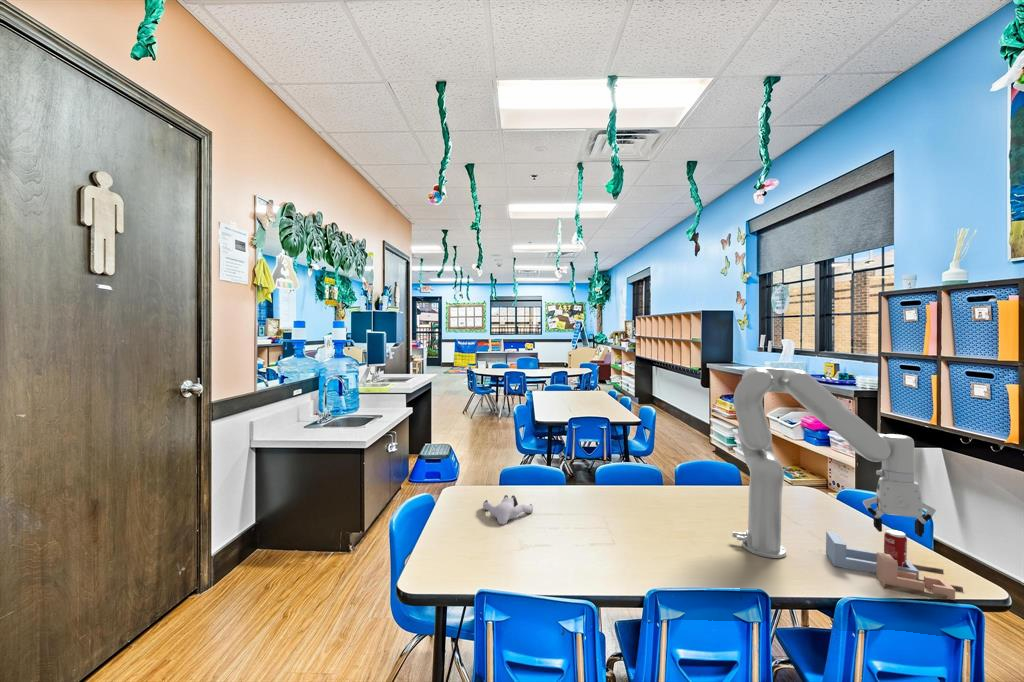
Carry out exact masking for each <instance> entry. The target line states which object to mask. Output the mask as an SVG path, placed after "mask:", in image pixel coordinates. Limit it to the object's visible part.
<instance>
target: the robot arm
mask: <svg viewBox="0 0 1024 682" xmlns="http://www.w3.org/2000/svg"><path fill="white" fill-rule="evenodd" d="M767 393H778V394H779V393H781V394H789V395H790V396H792V397H793V398H794V399H795V400H796V401H797V402H798V403H799V404H800V405H801V406H803V407H804V409H806V410H807V411H808V412H809V413H810V414H811V415H812V416H814V418H815V419H817V421H819V422H821V423H822V424H823V425H824V426H826V427H828V428H829V429H831V430H833V431H834V432H835V433H836V434H838V435H839V436H840V437H841V438H843V439H844V440H845V441H846V442H847V443H848V446H849V447H850V449H851V450H852V451H853V452H854V453H856V454H857V455H859V456H861V457H863V458H864V459H866V460H868V461H870V462H875V463H880V462H881V468H880V469H879V470H878V469H877V470H876V471H875V474H876V475H877V476H880V477H879V479H878V482H877V487H876V495H875V496H874V497H871V498H870V497H869V498H867V499H863V500H862V504H863V505H864V507H865V508H866V511H868V512H869V513H870V514H872V516H873V527H874V528H875V529H876V531H878V533H879V532H880V533H881V532H883V519H882V516H883V515H884V514H886V515H892V516H899V517H908V518H915V520H914V534H916V536H918V537H919V538H923V534H925V524H926V523H927V522H928V521H930V520H931V519H932V518H933V516H934V515H935V513H936V512H937V511H936V509H935V508H933V507H932V506H930V505H928V504H926V503H924V502H923V500H922V499H923V498H922V495H921V489H920V485H919V482H917V481H915V441H914V439H913V438H912V437H910V436H908V435H905V434H904V435H903V434H898V433H896V434H895V433H887V434H885V433H878V432H877V431H875V429H874V428H872V427H871V426H870V425H869V424H868V423H867V422H866V421H865V420H863V419H861V418H860V416H858V415H857V414H856V413H854V411H852V410H851V409H850V408H849V407H847V405H845V404H844V403H843V402H842V401H841V400H839V399H838V398H837V397H836V396H835V395H833V393H831V392H830V391H829V390H828V389H827V388H825V386H823V385H822V384H821V383H820V382H819V381H817V379H816V378H814V377H813V376H812V375H811V374H810V373H808V372H806V371H805V370H801V369H797V368H777V367H776V368H774V367H763V366H761V367H760V366H754V367H749V368H747V369H746V370H745V371H744V372H743V373H742V375H741V380H740V381H739V382H738V384H737V386H736V388H735V390H734V393H733V406H734V410H735V415H736V420H737V423H738V426H737V436H738V439H739V443H740V446H741V450H742V454H743V456H744V457H743V458H744V460H745V464H746V466H747V468H748V470H749V483H748V484H749V486H748V515H747V516H748V517H747V529H746V530H745V531H743V532H738V531H735V530H732V535H731V536H732V538H736V540H737V541H742V543H741V544H742V545H741V546H742V547H743V548H744V549H745V550H747V551H748V552H749V553H751V554H754V555H757V556H758V557H759V556H760V557H764V558H769V559H780V558H784V557H785V556H786V555H787V550H786V548H785V547H784V546H783V545H781V543H782V541H781V540H782V507H783V506H782V505H783V504H782V503H783V502H782V501H783V489H784V487H783V486H784V481H785V471H784V468H783V465H782V463H781V461H780V460H779V459H778V458H777V456H776V455H775V451H774V448H773V445H772V441H773V435H772V431H771V429H770V427H769V423H768V420H767V417H766V413H765V409H764V408H765V407H764V406H763V404H764V403H763V400H764V397H765V395H766V394H767ZM872 504H875V506H876V508H875V509H873V508H872V506H871V505H872ZM923 509H924V510H926V511H925V513H923Z"/></svg>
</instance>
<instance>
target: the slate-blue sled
mask: <svg viewBox="0 0 1024 682" xmlns="http://www.w3.org/2000/svg"><path fill="white" fill-rule="evenodd" d="M825 532H826V534H825V537H826V538H825V553H826V554H825V555H827V557H828V559H829V560H830V562H831V563H832V565H833V567H839V568H845V569H851V570H855V571H861V572H867V573H871V574H872V573H873V574H876V568H877V552H876V551H870V550H866V549H865V550H864V549H858V548H852V547H847V544H846V543H845V541H844V540H843V539H842V537H841V535H839V533H838V532H833V531H827V530H826V531H825ZM912 564H913V563H911V561H910V560H909V559H906V567H900V566H898V570H899V571H905V572H911V573H915V574H916V575H917V579H920V578H919V576H920V574H919V573H920V572H919V569H916V568H915V567H914V566H913V565H912Z"/></svg>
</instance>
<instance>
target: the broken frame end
mask: <svg viewBox="0 0 1024 682" xmlns="http://www.w3.org/2000/svg"><path fill="white" fill-rule="evenodd" d="M923 580H924V583H925V589H931V593H936V594H941V595H946V596H947V600H953V601H956V590H955V589H954V588H953V587H952V586H951V585H952V584H950V583H949V582H948V581H946V579H943V578H938V577H933V576H928V575H923Z"/></svg>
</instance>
